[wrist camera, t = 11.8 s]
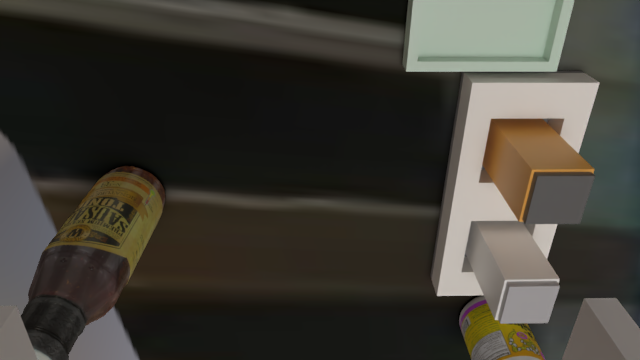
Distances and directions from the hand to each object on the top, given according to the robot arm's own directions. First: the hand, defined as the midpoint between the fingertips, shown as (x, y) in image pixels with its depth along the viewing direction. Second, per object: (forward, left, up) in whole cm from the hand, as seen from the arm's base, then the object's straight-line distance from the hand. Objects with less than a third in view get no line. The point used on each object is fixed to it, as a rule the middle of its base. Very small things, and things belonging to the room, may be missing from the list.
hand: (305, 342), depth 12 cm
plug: (+10, +18, -31) cm, 37 cm away
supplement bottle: (+31, +20, -32) cm, 49 cm away
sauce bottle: (+15, -16, -32) cm, 39 cm away
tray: (-3, +14, -32) cm, 35 cm away
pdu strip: (+15, +18, -32) cm, 39 cm away
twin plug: (+20, +18, -31) cm, 41 cm away
